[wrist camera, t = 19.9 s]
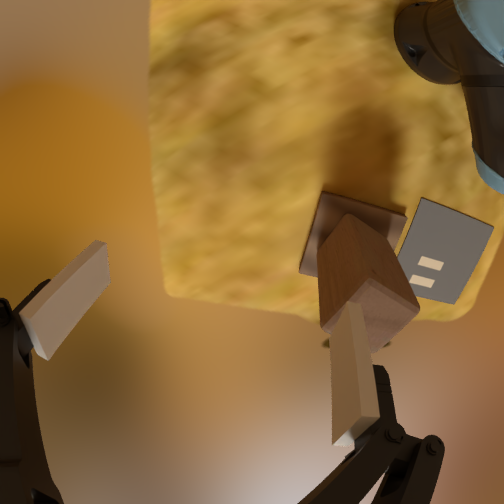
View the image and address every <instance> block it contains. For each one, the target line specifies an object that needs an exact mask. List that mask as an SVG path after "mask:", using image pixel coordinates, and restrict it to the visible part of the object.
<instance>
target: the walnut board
mask: <svg viewBox="0 0 504 504" xmlns="http://www.w3.org/2000/svg"><path fill="white" fill-rule="evenodd" d="M347 213H348V214H352V215H354V216H355V217H357V218H358V219H359V220H361V221H362V222H364V223H365V224H367V225H368V226H370V227H371V228H373V229H374V230H376V231H377V232H378V233H380V234H381V235H383V236H384V237H386V238H387V240H388V241H389V243H390V245H391V247H392V249H393V251H394V250H395V247H396V245H397V243H398V240H399V238H400V235H401V233H402V231H403V228H404V226H405V223H406V220H407V217H406V216H405V215H404V214H401V213H398V212H395V211H391V210H388V209H385V208H382V207H378V206H375V205H372V204H368V203H365V202H361V201H358V200H354V199H351V198H347V197H343V196H340V195H336V194H332V193H329V192H325V191H322V193H321V197H320V200H319V204H318V207H317V211H316V214H315V218H314V221H313V225H312V228H311V231H310V235H309V238H308V241H307V245H306V248H305V251H304V254H303V258H302V261H301V264H300V267H299V273H300V274H305V275H309V276H313V277H318V272H317V258H316V254H317V251H318V250H319V248H320V247H321V246H322V244H323V243H324V242H325V240H326V239H327V238H328V236H329V235H330V234H331V232H332V231H333V230H334V228H335V227H336V226H337V224H338V223H339V222H340V220H341V219H342V218H343V216H344V215H346V214H347Z"/></svg>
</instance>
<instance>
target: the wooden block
mask: <svg viewBox="0 0 504 504" xmlns="http://www.w3.org/2000/svg"><path fill="white" fill-rule="evenodd" d="M316 258H317V272H318V289H319V308H320V326H321V328H322V329H323V330H324V331H325V332H327V333H329V334H332V332H333V330H334V328H335V326H336V324H337V322H338V320H339V318H340V316H341V313H342V311H343V309H344V307H345V305H346V303H347V301H349V302H353V303H358V304H361V308H362V312H363V317H364V322H365V327H366V332H367V337H368V342H369V348H370V353H375V352H377V351H378V350H379V349H381V348H382V347H383V346H384V345H385V344H386V343H387V342H388V341H390V340H391V339H392V338H393V337H394V336H395V335H396V334H397V333H398V332H399V331H401V330H402V329H403V328H404V327H405V326H406V325H407V324H408V323H409V322H410V321H411V320H412V319H413V318H414V317H415V316H416V315H417V314H418V313H419V311H420V305H419V303H418V301H417V299H416V296H415V294H414V292H413V290H412V288H411V285H410V283H409V281H408V279H407V277H406V275H405V273H404V271H403V269H402V267H401V265H400V263H399V261H398V259H397V257H396V255H395V253H394V251H393V249H392V247H391V245H390V243H389V241H388V240H387V238H386V237H384V236H383V235H381V234H380V233H378V232H377V231H376V230H374V229H373V228H371V227H370V226H368V225H367V224H365V223H364V222H362V221H361V220H359V219H358V218H357V217H355V216H354V215H352V214H348V213H347V214H346V215H344V216H343V218H342V219H341V220H340V222H339V223H338V224H337V226H336V227H335V228H334V230H333V231H332V232H331V234H330V235H329V236H328V238H327V239H326V240H325V242H324V243H323V244H322V246H321V247H320V248H319V250H318V251H317V254H316Z"/></svg>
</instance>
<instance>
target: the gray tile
mask: <svg viewBox="0 0 504 504" xmlns="http://www.w3.org/2000/svg"><path fill="white" fill-rule="evenodd" d="M493 229H494V227H492V226H489V225H487V224H485V223H483V222H480V221H478V220H476V219H474V218H471V217H469V216H466V215H464V214H462V213H459V212H457V211H454V210H452V209H449V208H447V207H444V206H442V205H439V204H436V203H434V202H431V201H428V200H426V199H423V198H421V200H420V203H419V206H418V208H417V211H416V214H415V216H414V219H413V221H412V224H411V226H410V229H409V231H408V234H407V236H406V238H405V241H404V243H403V245H402V248H401V250H400V252H399V255H398V257H397V259H398V261H399V263H400V265H401V267H402V269H403V271H404V273H405V275H406V277H407V279H408V281H409V283H410V285H411V288H412V290H413V292H414V294H415V296H418V297H422V298H427V299H431V300H436V301H440V302H445V303H449V304H455V302H456V301H457V299H458V297H459V296H460V294H461V292H462V290H463V289H464V287H465V285H466V283H467V282H468V280H469V278H470V276H471V274H472V272H473V271H474V269H475V267H476V265H477V263H478V261H479V259H480V257H481V255H482V253H483V251H484V249H485V247H486V245H487V242H488V240H489V238H490V236H491V234H492V231H493Z"/></svg>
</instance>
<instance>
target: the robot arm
mask: <svg viewBox="0 0 504 504" xmlns="http://www.w3.org/2000/svg"><path fill="white" fill-rule="evenodd" d="M394 36H395V41H396V45H397V47H398V50H399V52H400V54H401V56H402V57H403V59H404V60H405V62H406V63H407V64H408V66H409V67H410V68H411V69H412V70H413V71H414V72H416V73H417V74H418V75H419V76H421V77H422V78H424V79H426V80H428V81H430V82H433V83H436V84H442V85H450V84H457V83H460V82H461V83H462V88H463V92H464V96H465V101H466V106H467V111H468V116H469V121H470V127H471V133H472V148H473V152H474V154H475V160H476V167H477V170H478V173H479V175H480V177H481V178H482V179H483V180H484V182H485V183H486V184H488V185H489V186H490V187H491V188H493V189H494V190H496V191H498V192H500V193H502V194H504V0H438V1H436V2H418V3H414V4H412V5H410V6H408V7H407V8H405V9H404V10H403V11H402V12H401V13H400V14H399V15H398V17H397V19H396V22H395V26H394ZM110 283H111V281H110V273H109V265H108V254H107V243H105V242H101V241H98V240H95V241H94V242H93V243H92V244H91V245H89V246H88V247H87V248H86V249H85V250H84V251H82V252H81V253H80V254H79V255H78V256H77V257H76V258H75V259H74V260H73V261H71V262H70V263H69V264H68V265H67V266H66V267H65V268H64V269H63V270H62V271H61V272H59V273H58V274H57V275H56V276H55V277H54V278H53V279H52V280H50V279H47V280H45V281H43V282H42V283H40V284H39V285H38V286H37V287H36V288H35V289H34V291H32V292H31V293H30V294H29V295H28V296H27V297H26V298H25V299H24V300H23V301H22V302H21V303H20V304H19V305H18V306H17V307H16V308H15V309H14V310H13V311H12V309H11V306H10V304H9V302H8V300H7V299H5V298H0V504H64V503H63V500H62V497H61V494H60V492H59V490H58V488H57V487H56V485H55V484H54V482H53V480H52V478H51V474H50V471H49V467H48V463H47V459H46V455H45V451H44V446H43V441H42V436H41V431H40V426H39V420H38V413H37V407H36V399H35V389H34V379H33V365H32V354H31V349H32V348H33V347H34V348H35V350H36V353H37V355H39V356H41V357H43V358H44V359H46V360H49V359H50V358H51V356H52V355H53V354H54V352H55V351H56V350H57V348H58V347H59V346H60V344H61V343H62V342H63V340H64V339H65V338H66V336H67V335H68V334H69V332H70V331H71V330H72V329H73V328H74V326H75V325H76V324H77V323H78V321H79V320H80V319H81V317H82V316H83V315H84V314H85V312H86V311H87V310H88V309H89V308H90V306H91V305H92V304H93V303H94V301H95V300H96V299H97V298H98V297H99V296H100V294H101V293H102V292H103V291H104V290H105V289H106V287H107V286H108V285H109V284H110ZM329 341H330V360H331V387H332V445H333V446H349V445H350V444H352V443H353V442H354V443H355V449H354V450H353V451H352V452H350V453H349V454H348V455H347V456H345V459H344V460H343V461H342V463H340V464H339V465H338V467H336V468H335V470H333V471H332V472H331V473H330V474H329V476H327V477H326V478H325V479H324V480H323V481H322V482H321V483H320V484H319V485H318V486H317V487H316V488H315V489H314V490H313V491H311V492H310V493H309V494H308V495H307V496H306V497H305V498H303V499H302V500H301V501H300V502H299V503H298V504H359V502H360V501H361V500H362V499H363V498H364V497H365V496H366V494H367V493H368V492H369V491H370V490H371V488H372V487H373V486H374V484H375V483H376V482H377V481H378V480H379V478H380V477H381V476H382V475H383V473H385V475H384V477H383V480H382V482H381V484H380V486H379V488H378V491H377V493H376V495H375V497H374V499H373V501H372V503H371V504H430V501H431V498H432V495H433V492H434V489H435V486H436V483H437V479H438V476H439V472H440V468H441V465H442V461H443V457H444V451H445V447H444V443H443V442H442V440H441V439H440V438H439V437H437V436H435V435H428V436H426V437H425V438H424V439H419V438H416V437H413V436H410V435H408V434H406V432H405V430H404V428H403V427H402V426H401V425H400V424H398V423H397V420H396V414H395V407H394V401H393V396H392V394H391V393H392V390H391V386H390V379H389V375H388V373H387V371H386V370H385V368H384V367H383V366H380V365H373V364H372V359H371V353H370V348H369V342H368V337H367V332H366V327H365V322H364V317H363V312H362V308H361V304H358V303H353V302H349V301H347V303H346V305H345V307H344V309H343V311H342V313H341V316H340V318H339V320H338V322H337V324H336V326H335V328H334V330H333V332H332V334H331V336H330V338H329Z"/></svg>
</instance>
